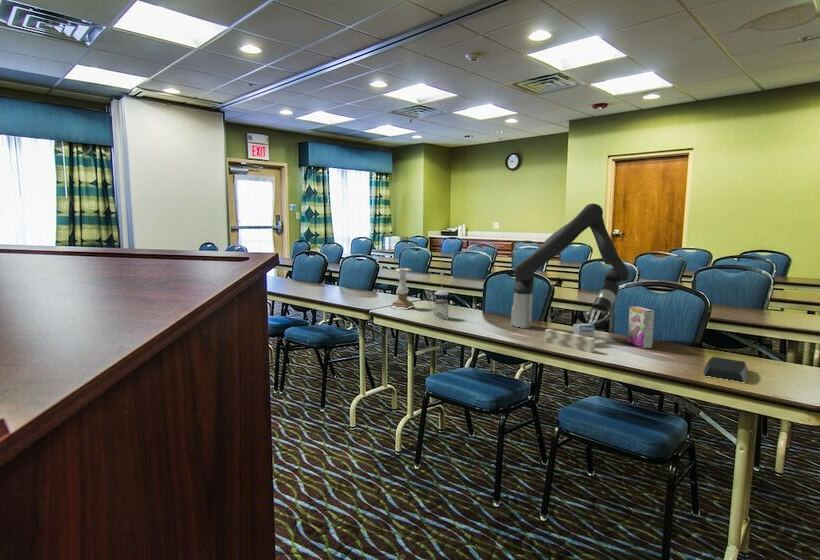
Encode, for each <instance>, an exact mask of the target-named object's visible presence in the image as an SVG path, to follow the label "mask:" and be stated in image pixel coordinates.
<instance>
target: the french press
mask: <svg viewBox="0 0 820 560" xmlns="http://www.w3.org/2000/svg"><path fill="white" fill-rule="evenodd" d="M439 275H440V276H444V273H443V272H441V273H440V274H439ZM440 288H441V290H437V291H435V292H434V295H432V296H431V297H430V298H429V301H428V304H429V305H428V306H429V307H430V309H432V310H433V316H432V317H434V318H438V319H445V318H450V316H449V303H448V300H447V299H443V297H442V296H448V295H449V292H448V291H445V290H442V289H443V286H441V287H440ZM435 295H436V296H441V299H436V298H435V297H436V296H435ZM432 298H434V299H435V300H434V306H433V307H432V306H431V299H432ZM438 319H437V320H438Z"/></svg>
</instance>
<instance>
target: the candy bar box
mask: <svg viewBox="0 0 820 560" xmlns="http://www.w3.org/2000/svg"><path fill="white" fill-rule="evenodd" d="M628 308H629V309H628V322H627V324H628V325H627V339H626V342H627V343H629V344H631V345H633V346H636V347H638V348H640V347H641V349H643V348H646V349H652V348H653V341H654V340H653V339H654V328H655V317H656V316H655V314H656V311H654V310H652V309H649V308H645V307H641V306H640V305H639V306H635V305H634V306H629V307H628Z"/></svg>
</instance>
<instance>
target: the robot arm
mask: <svg viewBox="0 0 820 560" xmlns="http://www.w3.org/2000/svg"><path fill="white" fill-rule="evenodd" d="M603 214H604V210H603V207H602V206H601V205H600V204H598V203H589V204H587V205H585V206H584V208H582V210H581V211H580V212H579V213H578V214H576V215H575V217H574V218H573V219H572V220H571V221H569V222H568V223H566V224H564V225H563V226H562V227H560V228H559V229H558V230H557V231H554V233H553V234H551V235H550V236H549V237H548V238H547V239H545V240H544V241H543V242H542V243H541V245H539V246H538V248H536V250H535V251H534V252H533V253H531V255H529V256H528V257H526V258H525V259H523V260H522V261H520V262H519V263H517V264H516V265H515V267H514V269H513V274H514V286H513V287H514V288H513V303H512V304H513V306H511V313H510V314H511V316H510V326H512V325H513V326H512V327H514V326H515V328H518V327H520V329H529V328H532V312H533V311H532V309H533V291H534V278H535V273H536V271H537V270H539V269H540V268H541V267H542V266H544V264H546V263H547V262H549V261H551V260H553V259H554V258H556V256H558V255H559V254H560V253H562V252H563V251H564V250H565V249H567V248H568V247H569V246H570V245H571V244H572V243H573V242H574V241H575V240H576V239H577V238H578V237H579V236H580V235H581V234H582V233H583V232H584V231H585V230H587V229H588V228H590V230H591V232H592V235H593V237H594V240H595V242H596V246H597V248H598V251H599V254H600V256H601V259H602V261H603V264H605V265H609V266H611V267H612V268H610V269H608V270H607V272H606V273H605V275H604V281H603V285H602V287H601V290H599V292H598V294H597V295H596V298H595V300H594V301H593V304H592V307H591V308H590V309H589V311H587V312H586V311H584V312H582V314H583V318H585V321H586V324H587V323H589V324H593V325H594V330H595V328H596V327H602V326H604V325H605V324H607V323H609V322H610V321H611V317H610V315H609V312H610V310H611V309H612V306H613V305H614V302H615V300H616V297H617V295H618V293H619V291H620V285H619V284H618V283H622V282H625V281H627V280H629V278H630V271H629V268H628V266H627V265H626V264H625V263H624V261H623V260H622V259H621V257H620V256H619V254H618V251H617V248H616V247H615V244H614V241H613V240H612V238H611V237H610V235H609V232H608V230H607V227H606V225H605V220H604V217H603Z"/></svg>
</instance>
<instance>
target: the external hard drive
mask: <svg viewBox="0 0 820 560" xmlns="http://www.w3.org/2000/svg"><path fill="white" fill-rule="evenodd" d="M748 369H749V368H748V366H747V363H746V362H745V361H743V360H736V359H731V358H730V359H729V358H722V357H716V356H713V357H711V358H710V359H709V360H708V361H707V362H706V365H705V367H704V371H703V376H704V375H705V376H711V377H716V378H722V379H728V380H734V381H739V382H745V381H746V380H747V378H748V379H749V376H748V374H749V370H748ZM747 381H748V380H747ZM747 381H746V382H747Z"/></svg>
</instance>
